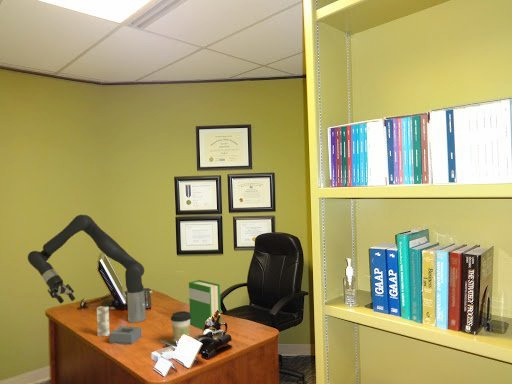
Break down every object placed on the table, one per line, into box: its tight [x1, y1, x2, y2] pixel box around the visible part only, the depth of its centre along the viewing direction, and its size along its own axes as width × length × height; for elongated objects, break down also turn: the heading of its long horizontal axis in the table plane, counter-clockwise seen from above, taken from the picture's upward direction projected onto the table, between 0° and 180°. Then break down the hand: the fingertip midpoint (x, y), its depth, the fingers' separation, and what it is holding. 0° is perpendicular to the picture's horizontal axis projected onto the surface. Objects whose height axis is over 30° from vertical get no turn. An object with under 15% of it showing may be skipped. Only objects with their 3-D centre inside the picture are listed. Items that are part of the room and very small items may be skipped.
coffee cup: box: [170, 311, 191, 342], centre depth 186 cm, size 10×10×15 cm
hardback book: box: [188, 279, 222, 330], centre depth 209 cm, size 18×7×24 cm, turn 48°
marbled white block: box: [96, 305, 111, 337], centre depth 201 cm, size 5×3×15 cm, turn 78°
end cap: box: [108, 326, 143, 346], centre depth 194 cm, size 12×10×5 cm
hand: (68, 301), depth 209 cm, fingers open, 8 cm apart
